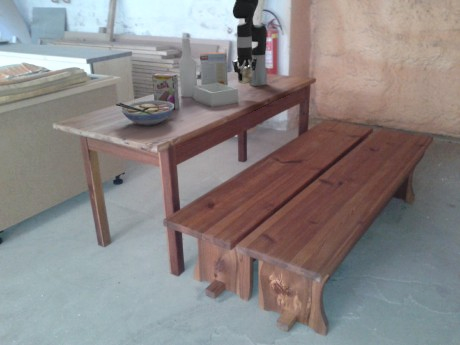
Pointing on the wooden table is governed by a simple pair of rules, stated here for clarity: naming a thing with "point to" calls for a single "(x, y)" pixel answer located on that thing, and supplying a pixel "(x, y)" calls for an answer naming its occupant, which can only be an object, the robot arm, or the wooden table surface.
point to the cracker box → (213, 68)
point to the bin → (215, 94)
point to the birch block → (246, 76)
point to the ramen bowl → (147, 111)
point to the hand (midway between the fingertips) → (245, 79)
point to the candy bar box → (166, 88)
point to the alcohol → (187, 70)
